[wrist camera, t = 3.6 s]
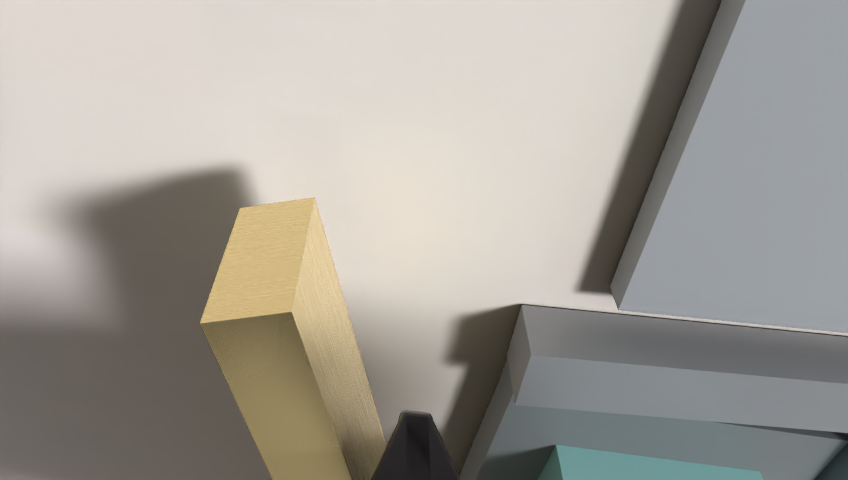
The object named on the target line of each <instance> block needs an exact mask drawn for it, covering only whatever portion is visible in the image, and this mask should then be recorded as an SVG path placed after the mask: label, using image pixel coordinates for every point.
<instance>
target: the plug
mask: <svg viewBox="0 0 848 480" xmlns="http://www.w3.org/2000/svg"><path fill="white" fill-rule="evenodd" d="M847 443H848V439H847V437H846V435H845V434H844V433H842V432H830V431H818V430H806V429H794V428H782V427H771V426H759V425H747V424H735V423H723V422H711V421H699V420H688V419H676V418H664V417H652V416H640V415H628V414H617V413H605V412H593V411H581V410H569V409H557V408H545V407H534V406H522V405H515V403H514V397H513V390H512V384H511V377H510V371H509V364H508V359H507V361H506V364H505V366H504V369H503V371H502V373H501V376H500V378H499V381H498V383H497V386H496V388H495V390H494V393H493V395H492V398H491V400H490V402H489V405H488V407H487V410H486V412H485V415H484V417H483V419H482V422H481V424H480V427H479V429H478V431H477V434H476V436H475V439H474V441H473V444H472V446H471V448H470V451H469V453H468V456H467V458H466V460H465V463H464V465H463V468H462V470H461V473H460V475H459V478H460V480H814V479H815V478H816V477H817V476H818V475H819V474H820V473H821V471H822V470H823V469H824V468H825V467H826V466H827V465H828V464H829V463H830V462H831V460H832V459H833V458H834V457H835V456H836V455H837V454H838V453H839V452H840V451H841V449H842V448H843V447H844V446H845V445H846V444H847Z"/></svg>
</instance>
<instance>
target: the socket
mask: <svg viewBox="0 0 848 480" xmlns="http://www.w3.org/2000/svg"><path fill="white" fill-rule="evenodd" d="M507 358H508V364H509V371H510V377H511V384H512V390H513V397H514V403H515V405H522V406H534V407H545V408H557V409H569V410H581V411H593V412H605V413H617V414H628V415H640V416H652V417H664V418H676V419H688V420H699V421H711V422H723V423H735V424H747V425H759V426H771V427H782V428H794V429H806V430H818V431H830V432H842V433H844V434H845V435H846V437H847V439H848V337H842V336H832V335H822V334H812V333H802V332H792V331H782V330H771V329H761V328H751V327H741V326H731V325H721V324H711V323H701V322H691V321H680V320H670V319H660V318H650V317H640V316H630V315H620V314H610V313H599V312H589V311H579V310H569V309H559V308H549V307H539V306H529V305H521V308H520V312H519V315H518V318H517V322H516V325H515V328H514V332H513V335H512V338H511V342H510V345H509V348H508V352H507ZM814 480H848V443H847V444H846V445H845V446H844V447H843V448H842V449H841V451H840V452H839V453H838V454H837V455H836V456H835V457H834V458H833V459H832V460H831V462H830V463H829V464H828V465H827V466H826V467H825V468H824V469H823V470H822V471H821V473H820V474H819V475H818V476H817V477H816V478H815V479H814Z"/></svg>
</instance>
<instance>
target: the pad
mask: <svg viewBox="0 0 848 480" xmlns="http://www.w3.org/2000/svg"><path fill="white" fill-rule="evenodd" d="M610 288H611V291H612V294H613V297H614V299H615V302H616V305H617V308H618V310H622V311H632V312H642V313H652V314H662V315H672V316H682V317H692V318H702V319H712V320H722V321H732V322H742V323H752V324H762V325H772V326H783V327H793V328H803V329H813V330H823V331H833V332H843V333H848V0H722V1H721V4H720V6H719V9H718V11H717V14H716V16H715V19H714V22H713V24H712V27H711V29H710V32H709V34H708V37H707V39H706V42H705V45H704V47H703V50H702V52H701V55H700V57H699V60H698V62H697V65H696V68H695V70H694V73H693V75H692V78H691V80H690V83H689V85H688V88H687V91H686V93H685V96H684V98H683V101H682V103H681V106H680V108H679V111H678V114H677V116H676V119H675V121H674V124H673V126H672V129H671V131H670V134H669V137H668V139H667V142H666V144H665V147H664V149H663V152H662V154H661V157H660V160H659V162H658V165H657V167H656V170H655V172H654V175H653V177H652V180H651V183H650V185H649V188H648V190H647V193H646V195H645V198H644V200H643V203H642V206H641V208H640V211H639V213H638V216H637V218H636V221H635V224H634V226H633V229H632V231H631V234H630V236H629V239H628V241H627V244H626V247H625V249H624V252H623V254H622V257H621V259H620V262H619V264H618V267H617V270H616V272H615V275H614V277H613V280H612V282H611V285H610Z"/></svg>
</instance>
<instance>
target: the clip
mask: <svg viewBox="0 0 848 480" xmlns="http://www.w3.org/2000/svg"><path fill="white" fill-rule="evenodd" d="M200 325H201V328H202V330H203V332H204V334H205V336H206V338H207V340H208V343H209V345H210V347H211V349H212V351H213V353H214V355H215V358H216V360H217V362H218V364H219V366H220V368H221V370H222V373H223V375H224V377H225V379H226V381H227V383H228V385H229V388H230V390H231V392H232V394H233V396H234V398H235V400H236V403H237V405H238V407H239V409H240V411H241V413H242V415H243V418H244V420H245V422H246V424H247V426H248V428H249V430H250V433H251V435H252V437H253V439H254V441H255V443H256V445H257V448H258V450H259V452H260V454H261V456H262V458H263V460H264V463H265V465H266V467H267V469H268V471H269V473H270V475H271V478H272V480H371V478H372V475H373V473H374V471H375V469H376V467H377V465H378V463H379V461H380V459H381V457H382V455H383V453H384V451H385V448H386V446H387V444H386V441H385V437H384V434H383V430H382V427H381V423H380V420H379V417H378V413H377V410H376V406H375V403H374V399H373V396H372V393H371V389H370V386H369V382H368V379H367V376H366V372H365V369H364V365H363V362H362V358H361V355H360V352H359V348H358V345H357V341H356V338H355V334H354V331H353V328H352V324H351V321H350V317H349V314H348V310H347V307H346V304H345V300H344V297H343V293H342V290H341V286H340V283H339V280H338V276H337V273H336V269H335V266H334V262H333V259H332V256H331V252H330V249H329V245H328V242H327V239H326V235H325V232H324V228H323V225H322V221H321V218H320V215H319V211H318V208H317V204H316V201H315V198H308V199H301V200H293V201H286V202H279V203H272V204H265V205H258V206H250V207H243V208H240V209H239V212H238V215H237V218H236V221H235V224H234V226H233V229H232V232H231V235H230V238H229V241H228V244H227V246H226V249H225V252H224V255H223V258H222V261H221V264H220V267H219V269H218V272H217V275H216V278H215V281H214V284H213V287H212V289H211V292H210V295H209V298H208V301H207V304H206V307H205V309H204V312H203V315H202V318H201V321H200Z"/></svg>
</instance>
